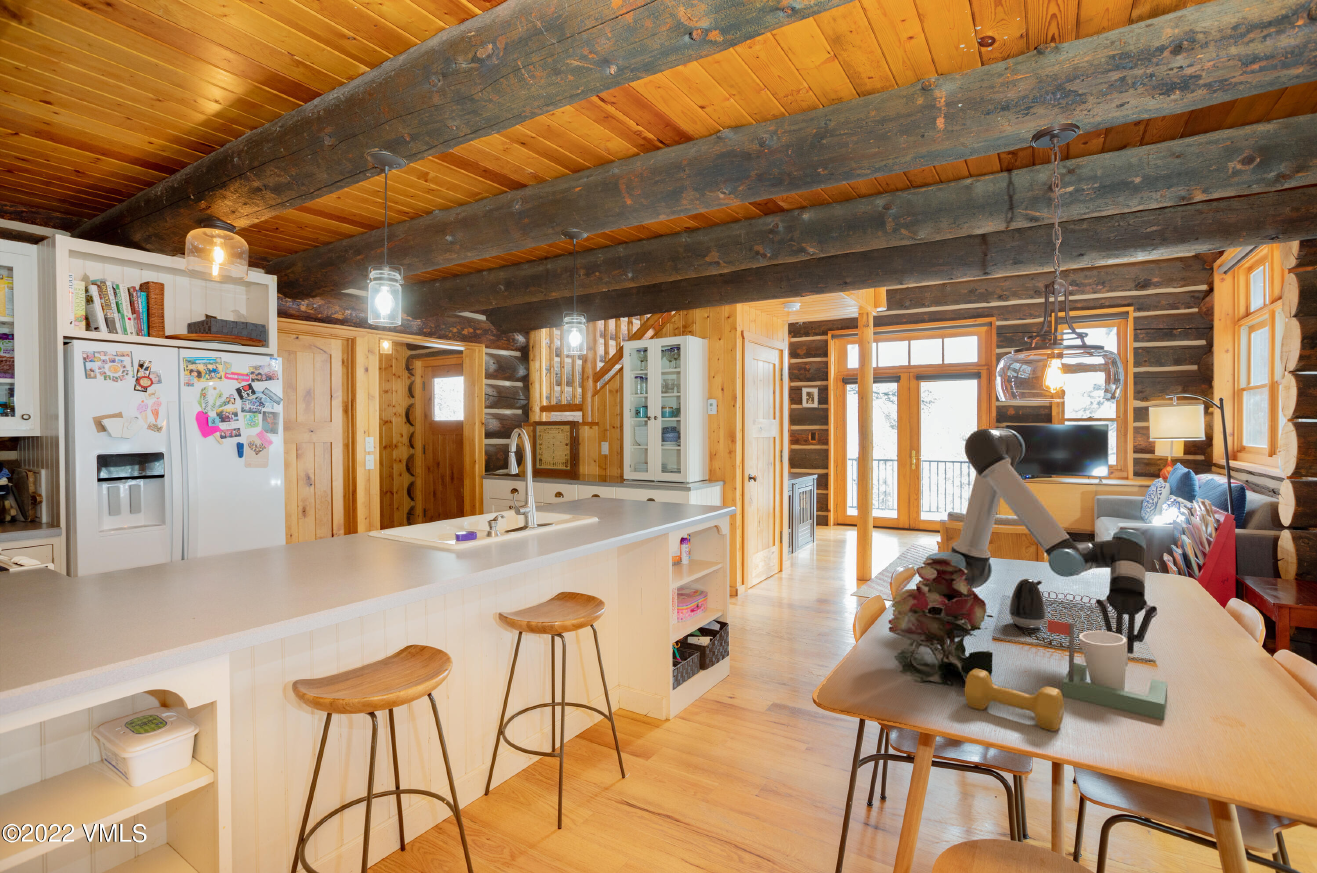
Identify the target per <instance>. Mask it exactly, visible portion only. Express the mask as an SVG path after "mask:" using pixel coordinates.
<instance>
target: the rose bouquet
mask: <svg viewBox="0 0 1317 873" xmlns="http://www.w3.org/2000/svg"><path fill="white" fill-rule="evenodd" d="M915 572H916V573H917V575H918V577H919V578H920V580H918V582H917V583H915V588H908V589H907V588H906V589H903V590H902V591H901V592H899V593H897V594H896V595H895V596H893V598H892V600H891V602H892V604H891V608H894V609H892V616H893V617H892V618H891V619H889V620H888V624H889V625H890V626H889V627H888V632H889V633H890V634H891V633H892V634H894V635H896V636H899V637H902V638H905V639H906V640H910V642H909V643H908V647H906V648H903V649H901V651H900V652H897V654H896V655H895V656H894V658H895V659H896V660H897V662H899V664H900V665H901V670H899V673H901V674H903V675H905V676H906V677H909V678H910V679H912V680H913V681H915V683H923V682H925V681H927V682H928V681H930V682H934V683H938V684H941V685H946V686H950V687H953V682H950V681H947V680H946V679H945V678H943V677H946V676H947V675H946V674H947V672H948V670H949V669H952V670H953V671H956V672H957V673H958V674H961V675H962V678H963V679H964V681H965V682H966V678H967V675H968V674H969V672H971V671H972V670H973V669H981V670H984V671H987V672H988V673H989V675H990V676H992V674H993V656H994V654H993V653H994V652H992V651H989V650H986V651H985V650H980V651H979V650H977V651H971V652H969V653H968V655H966V652H967V651H966V650H967V649H966V646H965V644H964V641H965V637H966V636H970V637H972V638H973V637H976V634H974V633H969V632H968V631H971V632H976V631H978V630H979V631H981V630H982V629H983V628H982V622H984V621H985V616H986V617H988V618H995V617H994V615H991V614H987V613H988V611H987V603H986V602H985V600H984V599H982V597H980V595H979V594H978V593H976V591H975V590H974V589H971V588H970V586H968V585H967V583H968V581H966V580H964V578H965V575H966V574H967V571H966V570H965V569H963V568H960V567H958V566H956V565H954V564H952V560H950V559H947V558H943V557H940V558H939V557H938V558H928V559H927V560H926V561H925V560H923V562H922V565H921V566H919V567H917V568H916V569H915ZM988 629H989V628H988V627H985V628H984V630H988ZM954 631H959V632H962V633H964V634H966V635H965V636H961V638H959V639H958V640H957V641H956V636H955V634H954ZM914 643H915V645H914ZM921 646H923V647H926V648H928V649H929V650H930V652H927V651H924V650H921V649H919V648H920V647H921ZM908 673H909V674H908ZM961 690H964V691H965V688H964V687H963V688H962V689H961Z"/></svg>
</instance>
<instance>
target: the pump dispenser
mask: <svg viewBox="0 0 1317 873" xmlns="http://www.w3.org/2000/svg"><path fill="white" fill-rule="evenodd" d="M1042 583H1043V582H1042V580H1037V581H1034V580H1032V579H1030V578H1024V579H1021V580H1020V581H1018V583H1017V584H1016V585H1015V587H1014V589H1013V592H1012V595H1011V598H1010V602H1009V608H1008V612H1009V615H1010V619H1011V620H1012V622H1013V623H1014V624H1015V625H1017V626H1018V627H1021V628H1023V629H1024V628H1025V629H1032V630H1033V629H1037V628H1040V627H1041V626H1042V625H1043V623H1044V622H1045V619H1046V617H1047V615H1046V612H1047V611H1046V606H1045V602H1044V597H1043V595H1042V593H1041V592H1042V591H1041V590H1040V587H1039V586H1040V585H1042ZM1030 626H1034V627H1030ZM1035 626H1038V627H1035Z"/></svg>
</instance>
